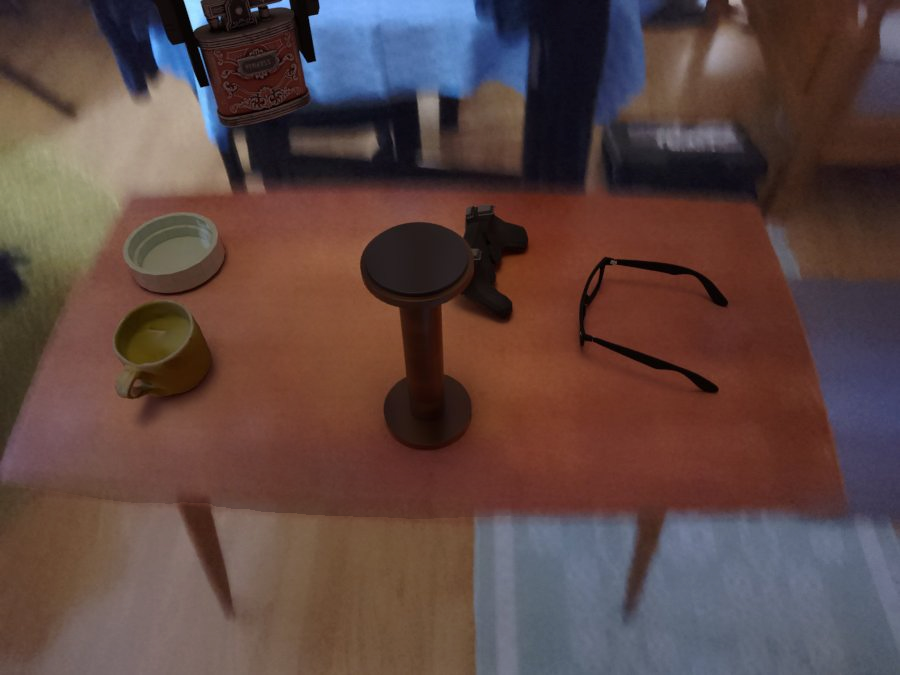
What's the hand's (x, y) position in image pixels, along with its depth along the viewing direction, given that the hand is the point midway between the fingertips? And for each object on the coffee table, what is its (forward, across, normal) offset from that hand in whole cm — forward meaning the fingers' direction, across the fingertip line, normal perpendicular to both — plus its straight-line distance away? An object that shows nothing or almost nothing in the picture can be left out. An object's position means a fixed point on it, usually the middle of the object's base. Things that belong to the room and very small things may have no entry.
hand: (255, 66), depth 56 cm
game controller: (+37, -24, -3) cm, 45 cm away
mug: (+37, +18, -4) cm, 42 cm away
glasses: (+37, -38, +14) cm, 55 cm away
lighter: (+4, 0, 0) cm, 4 cm away
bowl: (+37, +14, -24) cm, 46 cm away
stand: (+37, -8, +14) cm, 40 cm away
